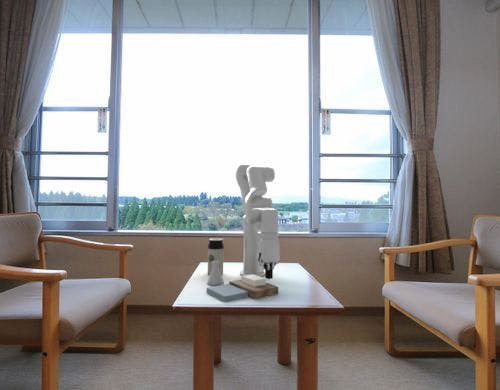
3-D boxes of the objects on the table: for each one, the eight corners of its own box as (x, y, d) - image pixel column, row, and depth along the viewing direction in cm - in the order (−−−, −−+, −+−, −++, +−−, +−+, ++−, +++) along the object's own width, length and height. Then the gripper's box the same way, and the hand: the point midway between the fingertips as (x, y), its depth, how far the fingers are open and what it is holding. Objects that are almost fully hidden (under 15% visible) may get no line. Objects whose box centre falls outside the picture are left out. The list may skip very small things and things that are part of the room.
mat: (228, 288, 133) (228, 283, 133) (247, 296, 122) (248, 291, 122) (206, 292, 127) (206, 287, 127) (224, 301, 115) (224, 296, 115)
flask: (214, 287, 135) (215, 264, 136) (203, 283, 140) (204, 261, 140) (226, 283, 141) (227, 261, 141) (215, 281, 146) (216, 259, 146)
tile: (252, 279, 136) (252, 274, 136) (265, 284, 129) (265, 278, 129) (241, 281, 133) (241, 276, 133) (254, 286, 126) (254, 280, 126)
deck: (251, 284, 140) (251, 277, 140) (278, 294, 126) (278, 286, 126) (229, 288, 133) (229, 281, 133) (254, 299, 119) (254, 291, 119)
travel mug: (217, 271, 166) (217, 237, 166) (226, 274, 160) (226, 239, 160) (204, 273, 160) (205, 238, 161) (213, 276, 155) (214, 240, 155)
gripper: (276, 234, 144) (275, 274, 143) (250, 236, 135) (250, 278, 135) (287, 236, 138) (287, 277, 137) (261, 238, 129) (260, 282, 129)
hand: (268, 278), depth 136 cm, fingers closed
